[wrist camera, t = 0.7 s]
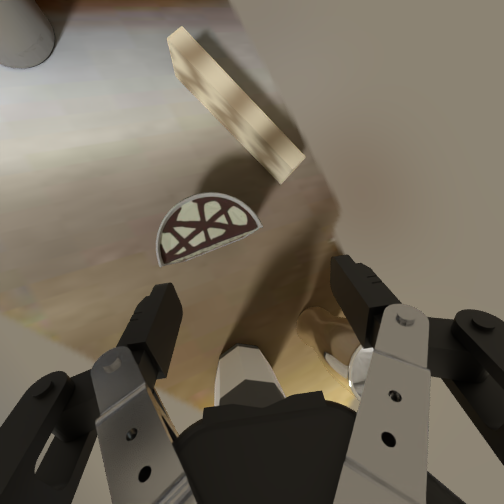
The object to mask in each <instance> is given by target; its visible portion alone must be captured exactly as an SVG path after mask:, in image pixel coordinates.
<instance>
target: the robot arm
mask: <svg viewBox="0 0 504 504" xmlns="http://www.w3.org/2000/svg"><path fill="white" fill-rule="evenodd" d="M54 39H55V36H54V31H53V28H52V26H51V23H50V22H49V20H48V19H47V17H46V16H45V15H44V13H43V12H42V10H41V9H40V8H39V6H38V5H37V3H36V2H35V0H0V64H1V65H4V66H7V67H11V68H21V69H22V68H30V67H33V66H36V65H38V64H40V63H41V62H43V61H44V60H45V59H46V58H47V57H48V56H49V55H50V53H51V51H52V49H53V46H54ZM330 284H331V289H332V292H333V295H334V296H335V298H336V300H337V302H338V304H339V305H340V307H341V309H342V311H343V313H344V315H345V316H346V318H347V320H348V322H349V324H350V325H351V327H352V329H353V331H354V333H355V335H356V336H357V338H358V340H359V342H360V344H361V345H362V347H363V349H367V348H373V349H374V350H373V353H372V357H371V361H370V365H369V369H368V373H367V377H366V380H365V384H364V388H363V392H362V396H361V400H360V404H359V408H358V412H355V411H354V410H352V409H350V408H348V407H346V406H344V405H342V404H339V403H336V402H332V401H327V400H325V399H324V396H323V392H322V391H315V392H309V393H302V394H295V395H291V396H289V397H287V398H285V399H282V400H280V401H278V402H276V403H273V404H271V405H269V406H267V407H264V408H259V407H252V406H245V405H238V404H227V405H220V406H214V407H207V408H204V411H203V419H201V420H199V421H197V422H196V423H194V424H192V425H191V426H189V427H188V428H187V429H186V430H184V431H183V432H182V433H181V434H180V435H179V434H178V432H177V431H176V429H175V427H174V425H173V423H172V421H171V419H170V417H169V415H168V414H167V411H166V409H165V407H164V406H163V403H162V401H161V399H160V397H159V395H158V393H157V391H156V390H155V388H154V385H155V382H156V379H162V378H166V377H167V373H168V369H169V366H170V362H171V358H172V354H173V351H174V347H175V343H176V339H177V335H178V332H179V328H180V324H181V320H182V316H183V310H182V305H181V303H180V300H179V298H178V295H177V293H176V291H175V288H174V286H173V284H172V283H164V284H158V285H155V286H154V288H153V290H152V292H151V294H150V296H146V297H145V298H144V299H143V300H142V301H141V302H140V303H139V304H138V306H137V307H136V309H135V311H134V315H132V317H131V319H130V322H129V323H128V325H127V327H126V329H125V331H124V333H123V335H122V337H121V338H120V340H119V342H118V344H117V346H116V348H113V349H111V350H109V351H107V352H106V353H104V354H103V355H102V356H101V357H99V358H98V360H97V361H96V362H95V363H94V365H93V367H92V369H90V370H88V371H85V372H83V373H80V374H78V375H76V376H73V377H71V378H70V377H69V376H68V375H67V374H66V373H65V372H63V371H56V372H52V373H50V374H48V375H46V376H44V377H42V378H41V379H39V380H38V381H37V382H36V383H34V384H33V385H32V386H31V387H30V388H29V389H28V390H27V391H26V392H25V394H24V395H23V396H22V398H21V399H20V401H19V402H18V403H17V405H16V406H15V407H14V409H13V410H12V412H11V413H10V415H9V416H8V417H7V419H6V420H5V422H4V423H3V424H2V426H1V427H0V504H71V503H72V500H73V498H74V495H75V492H76V490H77V487H78V485H79V482H80V479H81V477H82V474H83V472H84V469H85V466H86V464H87V461H88V459H89V456H90V453H91V451H92V448H93V445H94V443H95V440H96V437H97V435H98V439H99V444H100V448H101V453H102V458H103V462H104V467H105V472H106V476H107V481H108V485H109V490H110V495H111V499H112V504H466V503H465V502H464V501H462V500H461V499H460V498H459V497H458V496H456V495H455V494H454V493H453V492H452V491H450V490H449V489H448V488H447V487H446V486H445V485H443V484H442V483H441V482H440V481H438V480H437V479H436V478H435V477H434V476H432V474H430V473H429V472H428V471H427V456H428V431H429V406H430V381H431V376H433V377H439V378H441V379H442V380H443V381H444V383H445V384H446V386H447V387H448V388H449V390H450V391H451V393H452V394H453V395H454V397H455V398H456V400H457V401H458V402H459V404H460V405H461V407H462V408H463V409H464V411H465V412H466V414H467V415H468V416H469V418H470V419H471V420H472V422H473V423H474V425H475V426H476V427H477V429H478V430H479V432H480V433H481V435H482V436H483V437H484V439H485V440H486V442H487V443H488V444H489V446H490V447H491V448H492V450H493V451H494V453H495V454H496V456H497V457H498V458H499V460H500V461H501V463H502V464H503V465H504V322H503V321H502V320H501V319H499V318H497V317H496V316H493V315H491V314H489V313H486V312H483V311H479V310H471V309H467V310H461V311H459V312H458V313H457V314H456V316H455V318H454V320H452V319H441V318H431V317H427V316H426V315H425V314H424V313H422V311H420V310H418V309H417V308H415V307H412V306H409V305H405V304H402V303H401V302H400V301H399V300H398V299H397V298H396V296H395V295H394V294H393V293H392V292H391V291H390V290H389V289H388V287H387V286H386V285H385V284H384V283H382V281H381V280H380V278H379V277H377V275H376V274H375V273H374V272H373V271H372V269H371V268H369V267H367V266H366V265H363V264H362V263H355V262H354V261H353V260H352V259H351V257H350V256H349V255H341V256H335V257H332V258H331V274H330ZM51 433H52V434H54V435H55V437H54V439H53V441H52V442H51V444H50V446H49V448H48V451H47V452H46V454H45V456H44V458H43V460H42V462H41V464H40V466H39V468H38V470H37V472H36V473H34V470H35V464H36V461H37V459H38V457H39V455H40V453H41V451H42V449H43V448H44V446H45V444H46V442H47V440H48V438H49V436H50V434H51Z"/></svg>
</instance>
